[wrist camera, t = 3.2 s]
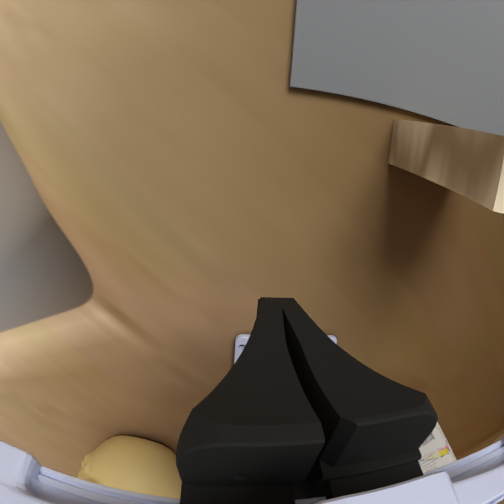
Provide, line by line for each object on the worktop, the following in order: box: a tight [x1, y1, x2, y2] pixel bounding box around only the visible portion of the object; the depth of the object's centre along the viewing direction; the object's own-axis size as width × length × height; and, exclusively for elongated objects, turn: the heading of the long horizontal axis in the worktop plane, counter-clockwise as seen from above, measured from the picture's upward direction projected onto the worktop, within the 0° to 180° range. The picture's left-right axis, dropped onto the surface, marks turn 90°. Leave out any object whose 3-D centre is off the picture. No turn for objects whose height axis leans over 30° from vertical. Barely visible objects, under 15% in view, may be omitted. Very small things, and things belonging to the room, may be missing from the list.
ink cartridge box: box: [418, 422, 457, 473], centre depth 26 cm, size 9×5×15 cm, turn 133°
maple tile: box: [388, 119, 504, 213], centre depth 13 cm, size 3×6×10 cm, turn 86°
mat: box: [289, 0, 504, 136], centre depth 13 cm, size 16×20×1 cm
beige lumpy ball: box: [77, 435, 182, 499], centre depth 26 cm, size 11×12×11 cm
